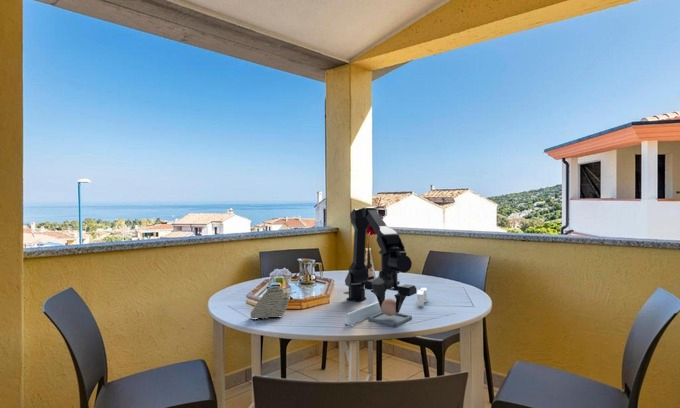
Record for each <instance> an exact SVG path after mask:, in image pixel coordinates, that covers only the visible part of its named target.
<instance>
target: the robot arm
mask: <svg viewBox="0 0 680 408" xmlns="http://www.w3.org/2000/svg"><path fill="white" fill-rule="evenodd" d="M349 217H350V224H351V225H352V227H353V229H354V230H353V231H354V233H353V235H354V236H353V257H352V258H353V260H352V263H351V265H350V266H349V267H348V273H347V275H346V277H345V279H344V283H345V286H346V287H348V297H347V298H346V300H347V301H352V302H356V303H357V302H358V303H359V302H361V301H363V300H366V299H367V297H366V290H370V292H371V293H372V294H374V295H375V296H376V298H377V302H379V304H380V307H381V305H382V303H383V301H384V300H386V292H387V290H389V291H394V292H395V291H396V292H397V293H396V294H394V298H395V301H396V313H400V310H401V308H402V306H403V304H404V301H405V300H406V297H411V296H413V295H415V294H416V295H417V292H418V289H417V287H416V286H415V284H408V283H405V284H402V285H400V283H401V282H400V281H399V279H398V274H400V273H405V274H406V273H408V272H409V271H410V270H411V268H412V265H413V262H412V259H411V258H410V257H409V256H407V252H406V250H405V246H404V244H403V241H402V238H401V237H400V234H398V232H397V231H396V230H395V229H393V228H391V227H389V226H388V225H387V224H386V222H384V219H383V218H382V217H381V216H380V214H379V213H378V211H377V208H376V207H374V206H365V207H362V208H354V209H352V211H350V215H349ZM369 226H370V227H371V228H372V230H373V231H374V232H375V235H376V242H377V245H378V248H380V250H379V252H378V254H380V255H381V257H380V258H381V260H380V261H381V262H380V263H381V264H380V265H381V268H380V269H381V270H379V272H378V276H377V277H376V278H372V279H371V278H370V279H369V276H370V275H369V268H368V267H367V266H366V264H365V259H366V258H365V254H366V234H367V229H368V228H369ZM381 310H382V308H381Z"/></svg>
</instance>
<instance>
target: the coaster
mask: <svg viewBox="0 0 680 408" xmlns="http://www.w3.org/2000/svg"><path fill="white" fill-rule="evenodd" d="M412 317H413V316H412V315H409V314H404V313H400V312H399V313H396V314H395V315H393V316H388V315H386V314H384V313H383V312H380V313H378V314H375V315H373V316H371V317H369V318H367V320H368V321H369V322H373V323H377V324H381V325H385V326H389V327H394V328H397V327H399V326H400V325H402V324H405V323H406V322H408V321H410V320H411V319H413V318H412Z"/></svg>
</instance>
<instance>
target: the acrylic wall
mask: <svg viewBox="0 0 680 408" xmlns="http://www.w3.org/2000/svg"><path fill="white" fill-rule="evenodd" d="M380 312H383V311H382V310H381V307H380V304H379V302H378V301H376V302H373V303H371V304H367V305H366V306H363V307H360V308H358V309H355V310H352V311H350V312H347V313H346V315H347V316H346V320H347V321H346V322H344V325H345V324H347V325H346V326H348V325H351V326H350V327H353V326H352V325H354V326H355V325H356V324H357V323H359V322H361V321H364V320H366V319H368V318H369V317H371V316H373V315H376V314H378V313H380Z"/></svg>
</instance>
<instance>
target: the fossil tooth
mask: <svg viewBox="0 0 680 408" xmlns="http://www.w3.org/2000/svg"><path fill="white" fill-rule="evenodd" d="M283 290H284V289H283V288H281V287H280V285H275V286H274V285H273V286H270V287H268V288H267V289H266V291H265V293H264V294H262V296H261V298H260V299H259V300H258V301H257V303H256V304H255V306H254V307H253V309H251V311H250V318H251V317H252V318H262V319H264V318H265V319H269V318H268V317H279V316H282V315H284V314H285V312H286V311H287V307H288V305H289V301H290V295H289V294H288V293H285V292H284V291H283ZM282 317H283V316H282ZM252 318H251V319H252Z"/></svg>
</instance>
